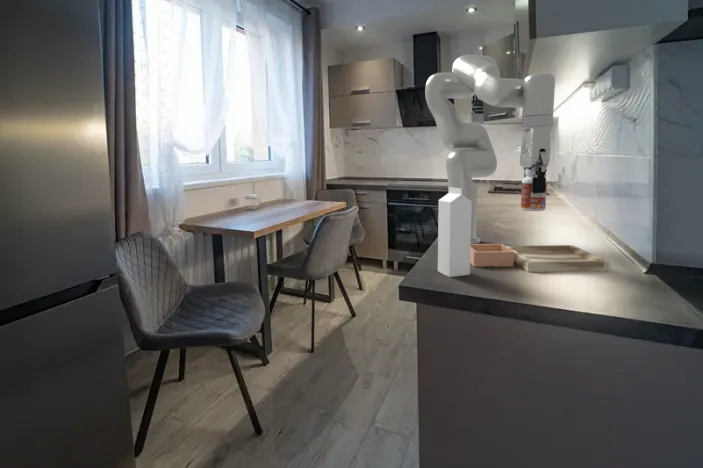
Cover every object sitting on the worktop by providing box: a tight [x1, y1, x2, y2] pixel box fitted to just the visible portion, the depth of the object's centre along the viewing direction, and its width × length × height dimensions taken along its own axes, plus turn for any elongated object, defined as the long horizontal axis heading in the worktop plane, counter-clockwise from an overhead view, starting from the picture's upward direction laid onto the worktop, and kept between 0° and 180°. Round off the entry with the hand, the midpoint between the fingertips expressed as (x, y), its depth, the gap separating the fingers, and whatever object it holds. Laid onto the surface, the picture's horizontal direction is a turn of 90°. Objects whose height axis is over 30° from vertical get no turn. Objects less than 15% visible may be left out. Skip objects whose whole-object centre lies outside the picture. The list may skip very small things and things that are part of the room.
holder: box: [470, 243, 515, 268], centre depth 118 cm, size 11×11×4 cm
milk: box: [437, 187, 472, 278], centre depth 106 cm, size 6×6×22 cm
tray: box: [506, 244, 610, 273], centre depth 116 cm, size 20×20×2 cm
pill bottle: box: [520, 168, 548, 212], centre depth 113 cm, size 6×6×11 cm
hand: (533, 191), depth 113 cm, fingers closed on pill bottle, 6 cm apart
